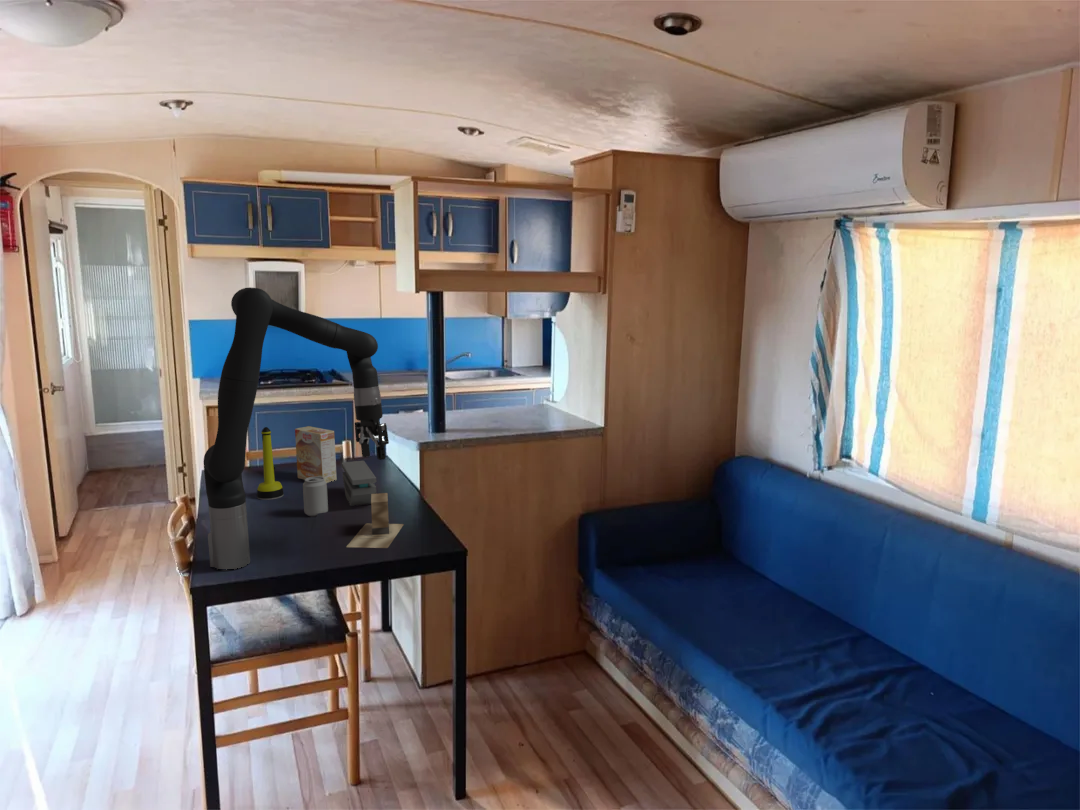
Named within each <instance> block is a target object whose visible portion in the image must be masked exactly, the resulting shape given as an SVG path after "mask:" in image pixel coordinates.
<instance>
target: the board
mask: <svg viewBox="0 0 1080 810" xmlns="http://www.w3.org/2000/svg"><path fill="white" fill-rule="evenodd" d="M404 525H405V524H404V523H389V534H378V535H372V523H367V522H366V523H365V524H364V525H363V526H362V527H361V529H360V530H359V531H358V532H357V533H356V535H354V537H353V538H352V539H351V541H349V543H348V544H347V545H346V546H345V547H346V548H358V549H359V548H365V549H367V548H368V549H370V548H371V549H372V548H375V549H388V548H389V547H390V546H391V544H392V542H393V541H394V540H395V538H396V537H397V535H398V534H399V532H400V531H401V529H402V528H403V526H404Z"/></svg>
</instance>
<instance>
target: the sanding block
mask: <svg viewBox="0 0 1080 810" xmlns="http://www.w3.org/2000/svg"><path fill="white" fill-rule="evenodd" d="M388 495H389V494H388V492H381V493H380V492H379V493H376V494H371V504H370V505H371V524H372V535H378V534H389V524H390V519H389V506H388V505H389V499H388Z"/></svg>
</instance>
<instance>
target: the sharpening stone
mask: <svg viewBox="0 0 1080 810" xmlns="http://www.w3.org/2000/svg"><path fill="white" fill-rule="evenodd" d="M341 468H342V469H343V471H344V472H342V481H343V486H344V487H343V488H344V493H345V498H346V501H347V502H348V501H349V502H348V504H349V503H350V504H349V506H350V505H351V506H350V507H356V506H355V505H358V506H364V505H363V504H366V505H371V494H377V485H375V483H377V477H376V476H375V474H374V472H373V471H372V470H371V468H370V467H369V466H368V464H367V462H365V460H355V461H343V462H341Z"/></svg>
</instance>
